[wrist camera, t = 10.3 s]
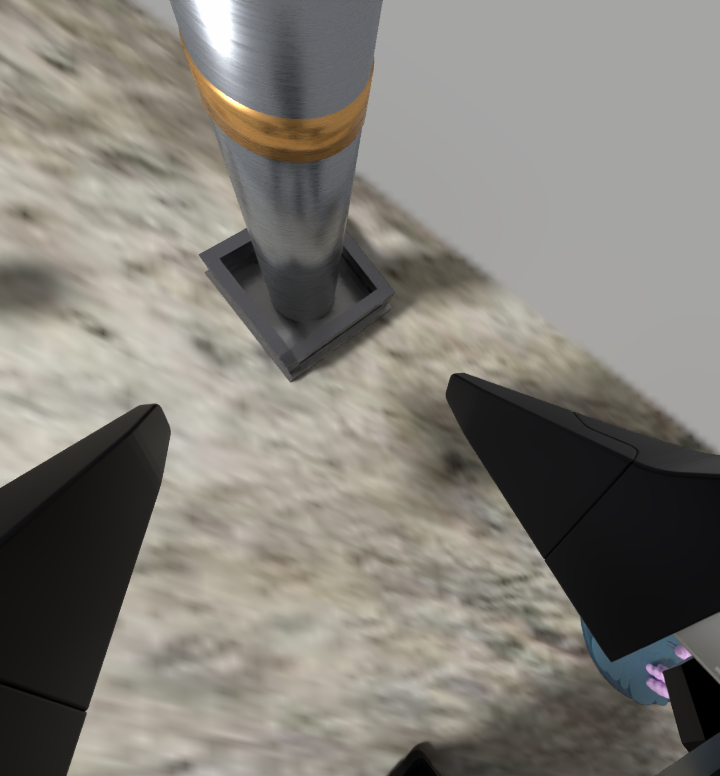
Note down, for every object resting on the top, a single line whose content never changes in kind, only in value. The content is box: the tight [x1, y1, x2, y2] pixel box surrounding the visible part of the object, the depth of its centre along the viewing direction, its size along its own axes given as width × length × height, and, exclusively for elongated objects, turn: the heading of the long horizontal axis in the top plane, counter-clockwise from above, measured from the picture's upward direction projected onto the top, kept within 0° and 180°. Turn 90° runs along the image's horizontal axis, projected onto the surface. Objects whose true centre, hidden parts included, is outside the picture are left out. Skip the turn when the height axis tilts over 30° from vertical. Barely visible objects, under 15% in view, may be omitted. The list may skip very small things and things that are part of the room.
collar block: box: [199, 228, 394, 382], centre depth 18 cm, size 9×9×3 cm
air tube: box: [170, 0, 383, 322], centre depth 12 cm, size 4×4×14 cm
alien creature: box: [581, 618, 692, 706], centre depth 17 cm, size 12×12×7 cm
